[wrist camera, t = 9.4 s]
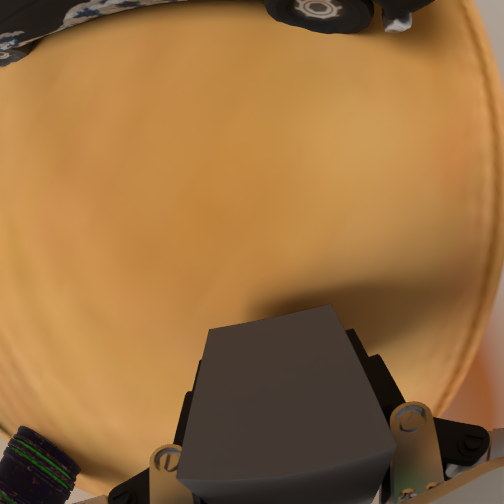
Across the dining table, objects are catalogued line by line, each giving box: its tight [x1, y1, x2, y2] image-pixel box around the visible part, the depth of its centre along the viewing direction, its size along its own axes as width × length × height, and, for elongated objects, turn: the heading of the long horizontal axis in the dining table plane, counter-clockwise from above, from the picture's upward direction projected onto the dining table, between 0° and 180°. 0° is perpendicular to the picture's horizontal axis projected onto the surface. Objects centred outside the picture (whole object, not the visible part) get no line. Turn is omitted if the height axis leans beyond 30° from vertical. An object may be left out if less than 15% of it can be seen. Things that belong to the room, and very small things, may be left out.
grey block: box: [176, 304, 397, 504], centre depth 7 cm, size 5×4×6 cm
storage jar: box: [0, 426, 80, 504], centre depth 12 cm, size 10×10×15 cm
